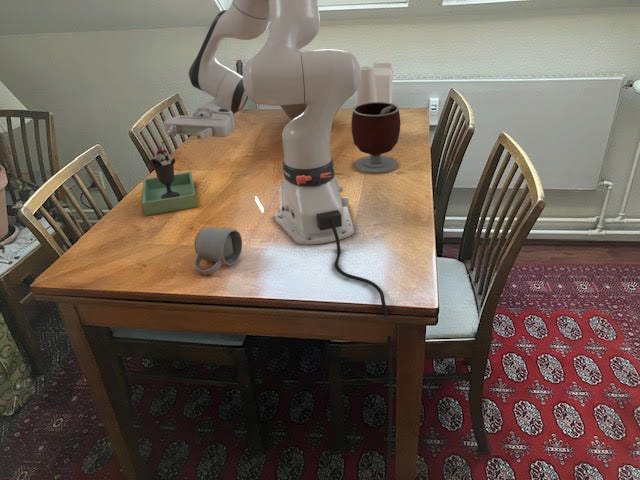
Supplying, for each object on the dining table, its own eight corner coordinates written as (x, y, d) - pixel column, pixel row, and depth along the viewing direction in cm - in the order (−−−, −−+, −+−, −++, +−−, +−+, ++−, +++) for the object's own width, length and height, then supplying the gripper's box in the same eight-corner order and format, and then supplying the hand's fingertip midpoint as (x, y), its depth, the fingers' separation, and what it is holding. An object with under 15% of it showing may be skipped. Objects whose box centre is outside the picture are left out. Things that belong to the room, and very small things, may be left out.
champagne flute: (380, 143, 172) (381, 68, 160) (362, 147, 170) (361, 71, 158) (371, 137, 177) (371, 64, 165) (353, 141, 175) (351, 67, 163)
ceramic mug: (214, 247, 120) (208, 218, 116) (245, 253, 117) (240, 223, 113) (186, 273, 112) (179, 242, 108) (219, 280, 109) (213, 249, 105)
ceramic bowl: (348, 115, 200) (347, 88, 195) (315, 133, 184) (314, 105, 178) (300, 108, 211) (298, 83, 206) (265, 125, 194) (262, 98, 189)
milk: (375, 124, 189) (375, 61, 178) (392, 125, 187) (392, 61, 176) (371, 130, 184) (371, 65, 173) (389, 130, 182) (389, 65, 171)
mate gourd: (343, 163, 159) (341, 97, 149) (382, 153, 165) (383, 88, 154) (371, 180, 147) (371, 110, 137) (412, 169, 152) (414, 100, 142)
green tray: (197, 206, 139) (195, 194, 137) (145, 215, 136) (142, 203, 134) (193, 182, 153) (191, 171, 151) (145, 190, 150) (143, 178, 148)
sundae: (180, 189, 148) (170, 138, 140) (184, 198, 143) (173, 146, 135) (157, 193, 146) (144, 142, 139) (159, 203, 141) (146, 150, 133)
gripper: (176, 108, 160) (150, 122, 149) (237, 111, 154) (214, 126, 143) (180, 128, 163) (155, 143, 152) (240, 131, 157) (218, 148, 146)
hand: (184, 135), depth 147 cm, fingers open, 8 cm apart
